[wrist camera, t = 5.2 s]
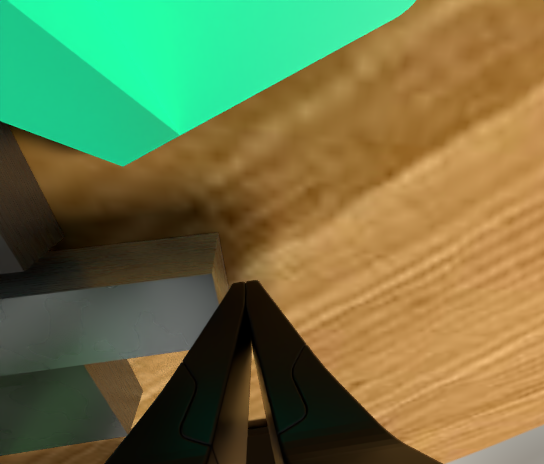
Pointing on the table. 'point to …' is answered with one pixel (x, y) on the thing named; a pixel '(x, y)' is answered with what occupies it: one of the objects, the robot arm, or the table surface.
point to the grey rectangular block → (109, 302)
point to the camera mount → (158, 62)
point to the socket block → (61, 381)
